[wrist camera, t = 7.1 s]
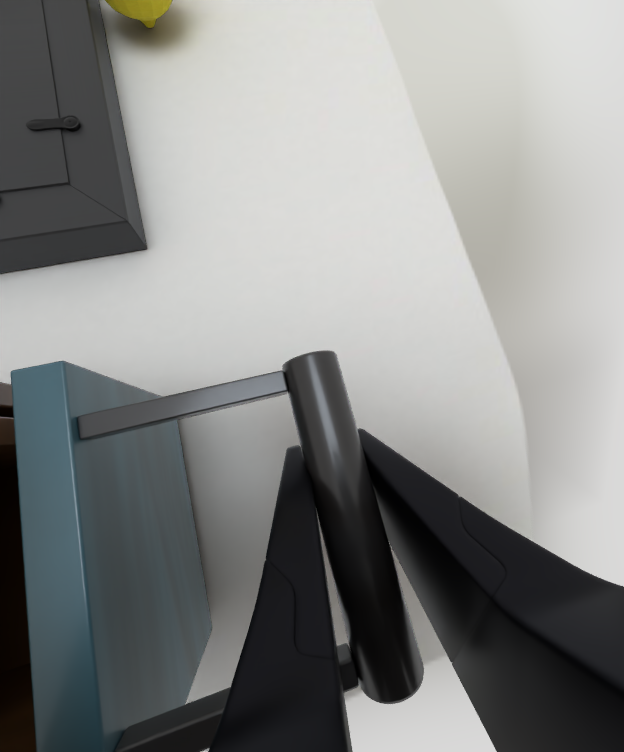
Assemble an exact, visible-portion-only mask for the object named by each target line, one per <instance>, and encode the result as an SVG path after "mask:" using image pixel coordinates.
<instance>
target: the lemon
mask: <svg viewBox="0 0 624 752" xmlns="http://www.w3.org/2000/svg"><path fill="white" fill-rule="evenodd" d="M105 1H106V2H107V3H108V4H109V5H110V6H111V7H112V8H113V9H114V10H115V11H117V12H119V13H121V14H123V15H125V16H127V17H129V18H133V19H138V20H140V21H141V22H142V23H143V24H144V25H145V26H146V27H147V28H152V27H154V25H155V22H156V19H157V18H160V17H161V16H162V15H163V14H164V13H165V12H166V11H167V10H168V9H169V7H170V5H171V2H172V0H105Z"/></svg>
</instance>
